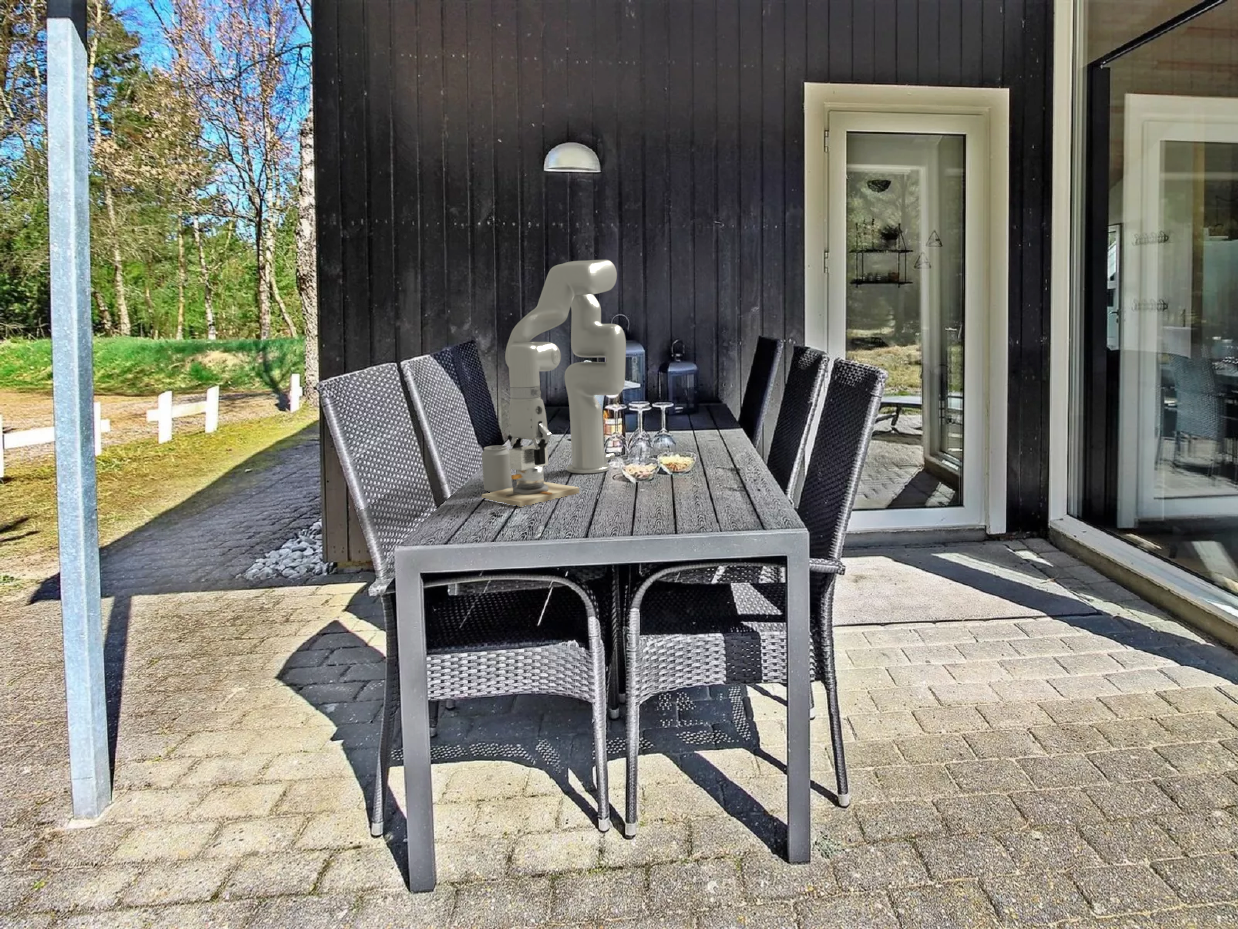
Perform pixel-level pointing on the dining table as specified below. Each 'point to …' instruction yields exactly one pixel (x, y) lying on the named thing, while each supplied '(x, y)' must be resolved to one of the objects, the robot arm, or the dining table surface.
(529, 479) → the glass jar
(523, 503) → the base plate
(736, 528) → the dining table surface
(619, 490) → the dining table surface
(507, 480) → the can
